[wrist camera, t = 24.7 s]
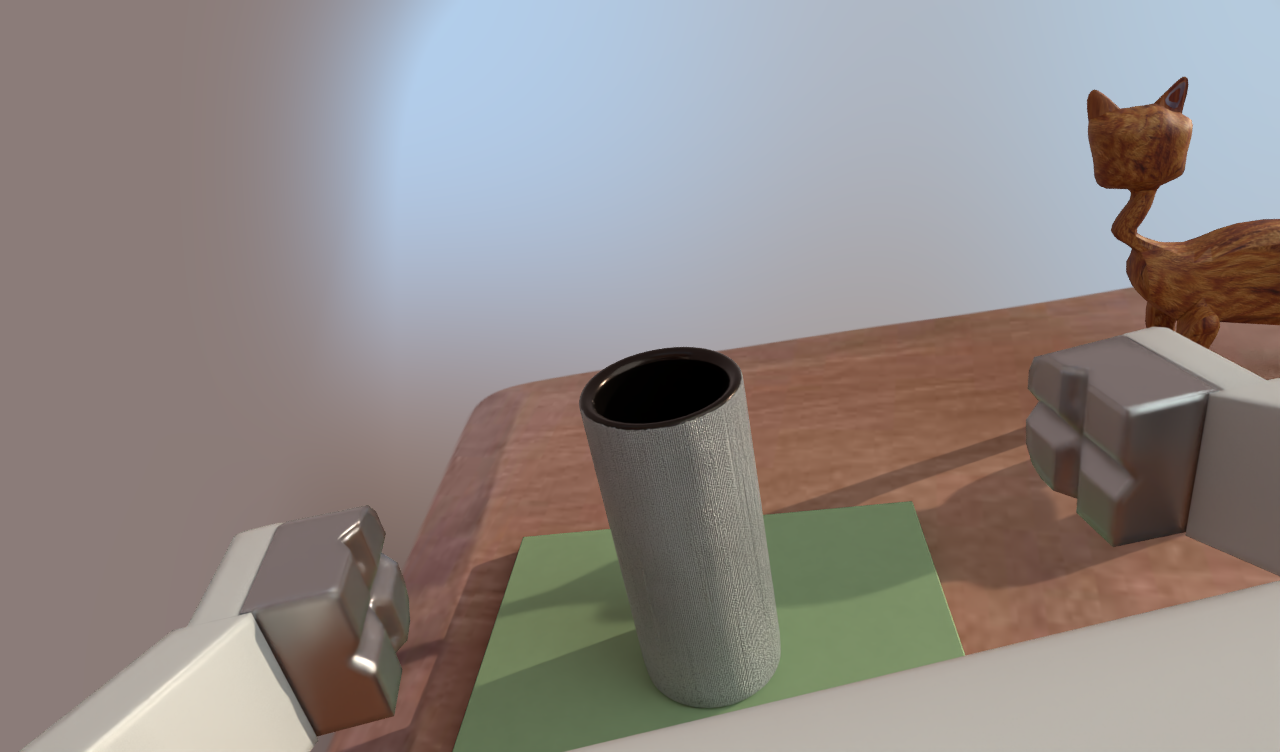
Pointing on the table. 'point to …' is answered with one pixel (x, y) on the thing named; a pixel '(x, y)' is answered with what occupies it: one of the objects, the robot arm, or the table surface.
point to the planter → (686, 520)
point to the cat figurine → (1195, 269)
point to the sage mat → (610, 650)
